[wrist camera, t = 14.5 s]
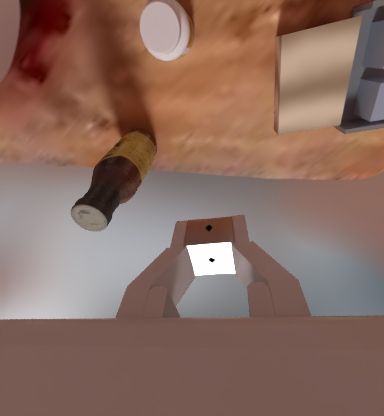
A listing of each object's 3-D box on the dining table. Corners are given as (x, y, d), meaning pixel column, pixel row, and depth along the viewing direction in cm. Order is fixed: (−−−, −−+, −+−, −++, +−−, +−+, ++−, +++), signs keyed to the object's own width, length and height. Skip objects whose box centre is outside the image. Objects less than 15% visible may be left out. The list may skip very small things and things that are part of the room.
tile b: (380, 83, 25) (404, 78, 25) (360, 78, 29) (381, 74, 29) (369, 121, 28) (391, 118, 28) (352, 113, 32) (371, 110, 31)
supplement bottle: (172, -7, 26) (154, -30, 18) (203, 33, 28) (198, 27, 20) (146, 35, 29) (121, 30, 21) (176, 68, 31) (163, 74, 23)
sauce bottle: (129, 121, 36) (60, 179, 20) (163, 138, 37) (124, 206, 21) (119, 154, 39) (56, 224, 24) (151, 168, 41) (110, 244, 25)
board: (276, 36, 27) (281, 35, 25) (348, 18, 26) (362, 15, 23) (273, 129, 34) (278, 135, 32) (331, 119, 33) (340, 125, 30)
